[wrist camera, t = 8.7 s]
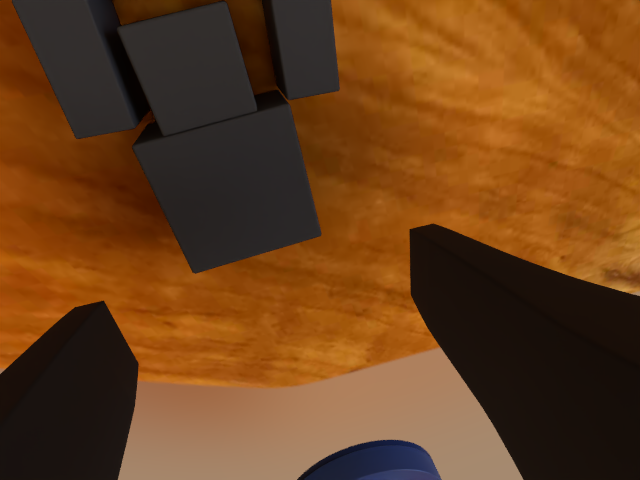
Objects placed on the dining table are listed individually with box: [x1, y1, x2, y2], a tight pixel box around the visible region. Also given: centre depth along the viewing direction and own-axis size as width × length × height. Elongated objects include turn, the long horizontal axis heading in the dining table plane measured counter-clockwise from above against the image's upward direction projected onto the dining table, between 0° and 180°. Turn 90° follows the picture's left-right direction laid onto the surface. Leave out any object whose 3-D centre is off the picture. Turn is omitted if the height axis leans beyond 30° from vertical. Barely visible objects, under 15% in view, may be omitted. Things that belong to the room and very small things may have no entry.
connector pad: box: [117, 1, 321, 273], centre depth 14 cm, size 8×5×3 cm, turn 12°
